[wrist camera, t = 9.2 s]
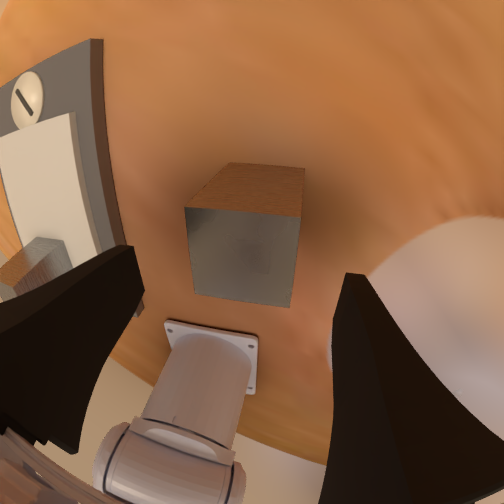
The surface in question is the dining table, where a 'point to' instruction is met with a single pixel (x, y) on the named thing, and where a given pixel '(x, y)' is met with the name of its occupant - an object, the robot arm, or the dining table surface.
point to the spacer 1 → (33, 267)
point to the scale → (60, 154)
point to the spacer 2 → (246, 233)
